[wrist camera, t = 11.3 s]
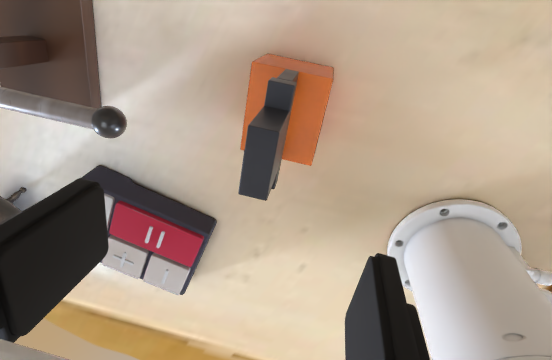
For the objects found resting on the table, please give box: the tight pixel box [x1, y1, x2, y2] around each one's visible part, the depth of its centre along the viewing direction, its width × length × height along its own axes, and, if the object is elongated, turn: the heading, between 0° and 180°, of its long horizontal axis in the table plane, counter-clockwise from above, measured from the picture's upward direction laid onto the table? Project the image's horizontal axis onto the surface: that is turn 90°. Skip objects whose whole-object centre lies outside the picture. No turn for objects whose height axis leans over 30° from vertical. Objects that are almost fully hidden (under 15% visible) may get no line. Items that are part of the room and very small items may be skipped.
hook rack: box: [0, 0, 127, 138], centre depth 23 cm, size 21×10×18 cm, turn 80°
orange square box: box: [239, 54, 334, 201], centre depth 23 cm, size 6×7×15 cm
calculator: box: [82, 166, 216, 295], centre depth 38 cm, size 11×4×15 cm
